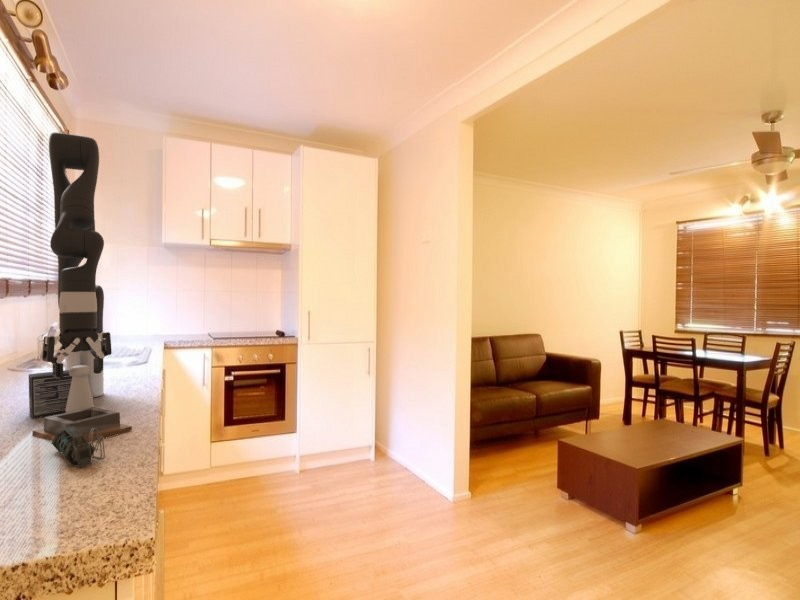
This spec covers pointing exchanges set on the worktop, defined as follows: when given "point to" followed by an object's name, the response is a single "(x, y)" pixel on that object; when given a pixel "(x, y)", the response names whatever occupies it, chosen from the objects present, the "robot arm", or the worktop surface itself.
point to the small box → (48, 394)
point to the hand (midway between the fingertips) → (78, 376)
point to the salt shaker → (79, 389)
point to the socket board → (84, 423)
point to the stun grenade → (77, 446)
